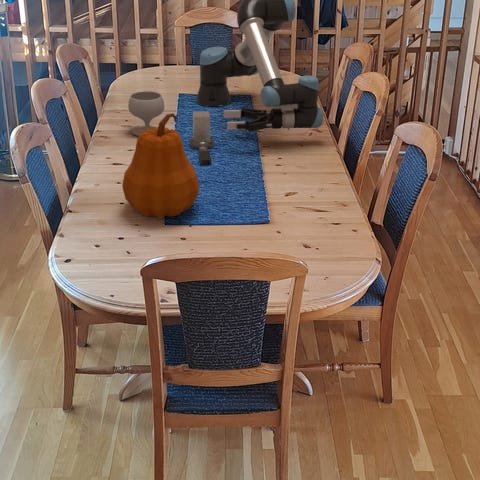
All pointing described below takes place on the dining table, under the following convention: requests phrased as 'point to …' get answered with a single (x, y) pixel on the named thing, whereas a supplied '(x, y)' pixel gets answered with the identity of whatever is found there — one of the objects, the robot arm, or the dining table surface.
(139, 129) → the chalice
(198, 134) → the tall taupe upright block
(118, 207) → the dining table surface
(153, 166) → the decorative pumpkin
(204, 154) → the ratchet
